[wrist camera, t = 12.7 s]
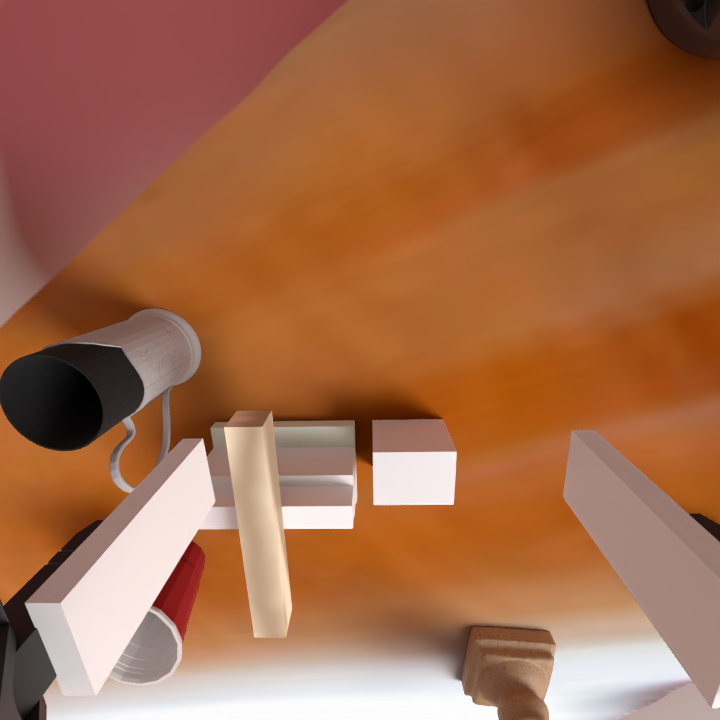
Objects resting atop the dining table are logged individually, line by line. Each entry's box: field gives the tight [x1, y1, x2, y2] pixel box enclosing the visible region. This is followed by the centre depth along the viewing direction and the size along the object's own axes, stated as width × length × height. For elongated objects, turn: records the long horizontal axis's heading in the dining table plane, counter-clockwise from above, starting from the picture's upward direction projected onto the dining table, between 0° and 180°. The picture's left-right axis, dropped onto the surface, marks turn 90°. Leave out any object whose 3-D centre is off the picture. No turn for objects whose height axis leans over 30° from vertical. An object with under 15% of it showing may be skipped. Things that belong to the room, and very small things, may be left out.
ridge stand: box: [199, 420, 357, 529], centre depth 41 cm, size 16×10×10 cm, turn 91°
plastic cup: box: [108, 542, 205, 686], centre depth 44 cm, size 11×11×12 cm
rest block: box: [372, 419, 457, 505], centre depth 41 cm, size 8×6×7 cm
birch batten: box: [224, 410, 292, 638], centre depth 34 cm, size 3×22×3 cm, turn 1°
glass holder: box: [0, 308, 201, 493], centre depth 35 cm, size 9×14×15 cm, turn 20°
